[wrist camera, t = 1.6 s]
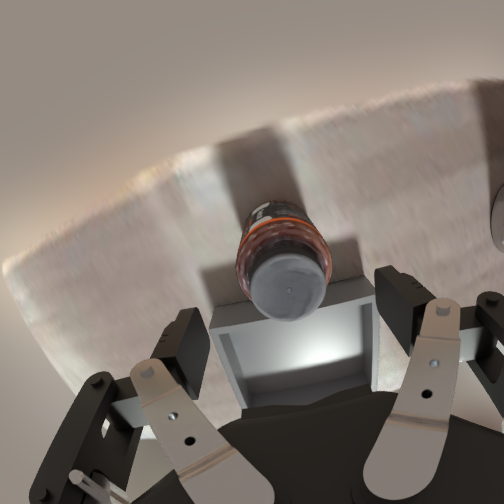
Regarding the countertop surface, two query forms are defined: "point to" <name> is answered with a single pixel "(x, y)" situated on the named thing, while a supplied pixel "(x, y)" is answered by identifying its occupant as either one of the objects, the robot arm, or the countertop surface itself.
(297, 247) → the supplement bottle
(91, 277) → the countertop surface
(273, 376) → the bin
